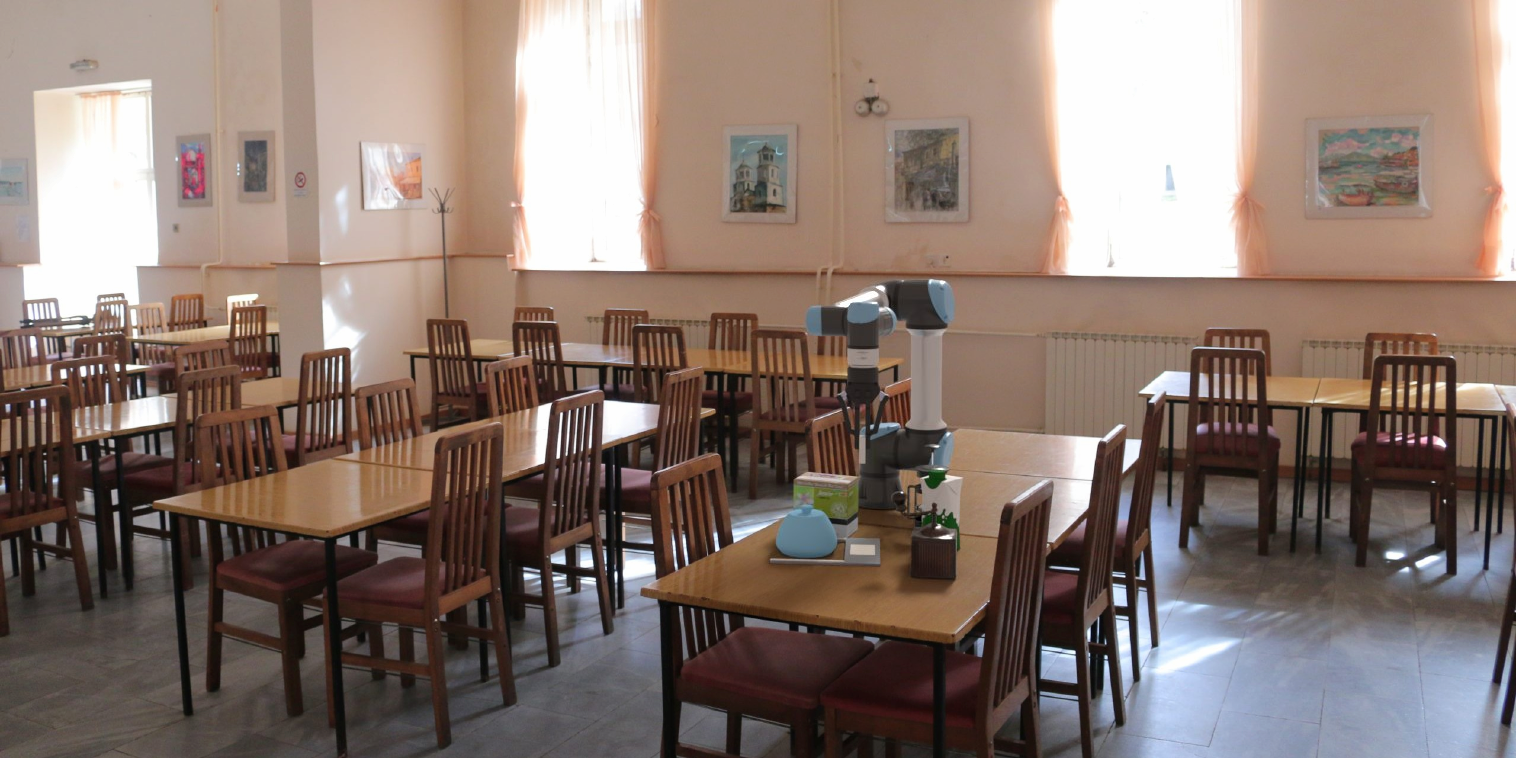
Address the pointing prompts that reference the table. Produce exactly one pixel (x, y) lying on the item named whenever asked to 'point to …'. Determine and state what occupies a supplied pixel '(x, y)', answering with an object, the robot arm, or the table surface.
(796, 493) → the tea box
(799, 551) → the sugar bowl
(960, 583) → the table surface
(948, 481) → the milk carton
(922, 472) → the french press
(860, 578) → the table surface
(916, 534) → the brown manual coffee grinder
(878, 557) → the label board
